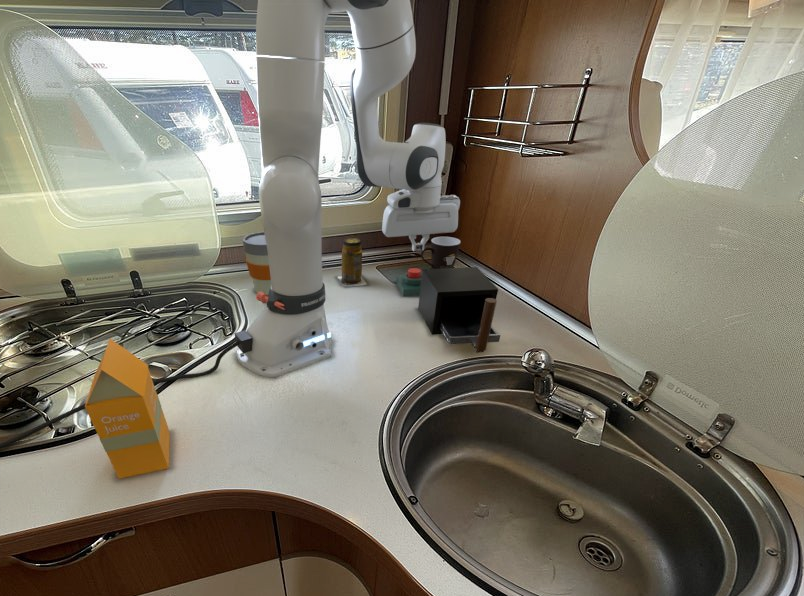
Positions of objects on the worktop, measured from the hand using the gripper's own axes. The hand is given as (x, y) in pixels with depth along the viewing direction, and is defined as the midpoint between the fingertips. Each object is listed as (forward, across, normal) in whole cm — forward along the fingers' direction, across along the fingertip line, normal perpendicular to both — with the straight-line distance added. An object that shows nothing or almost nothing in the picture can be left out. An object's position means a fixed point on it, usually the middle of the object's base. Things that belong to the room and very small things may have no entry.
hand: (417, 250), depth 116 cm
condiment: (+12, +17, -10) cm, 22 cm away
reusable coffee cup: (+11, +41, -8) cm, 44 cm away
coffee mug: (+12, -11, -10) cm, 19 cm away
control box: (+11, 0, 0) cm, 11 cm away
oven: (+11, -3, +20) cm, 24 cm away
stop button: (+8, 0, 0) cm, 8 cm away
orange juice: (+11, +65, +56) cm, 86 cm away
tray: (+10, -2, +32) cm, 34 cm away
